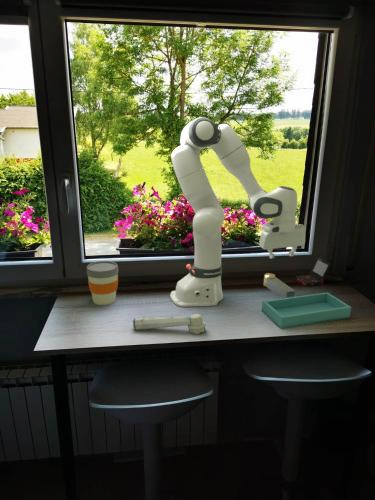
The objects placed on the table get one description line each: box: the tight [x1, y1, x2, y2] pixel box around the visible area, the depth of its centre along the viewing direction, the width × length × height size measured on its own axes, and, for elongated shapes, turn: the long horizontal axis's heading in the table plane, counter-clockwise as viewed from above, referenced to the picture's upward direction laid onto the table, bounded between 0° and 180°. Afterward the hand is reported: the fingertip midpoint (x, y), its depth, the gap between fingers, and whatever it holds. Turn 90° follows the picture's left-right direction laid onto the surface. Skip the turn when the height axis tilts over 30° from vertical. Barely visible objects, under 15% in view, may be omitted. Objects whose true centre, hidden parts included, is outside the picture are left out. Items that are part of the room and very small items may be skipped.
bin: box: [261, 291, 352, 330], centre depth 141 cm, size 30×14×4 cm, turn 108°
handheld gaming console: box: [295, 257, 332, 287], centre depth 173 cm, size 9×12×10 cm
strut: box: [263, 272, 296, 299], centre depth 161 cm, size 20×5×5 cm, turn 18°
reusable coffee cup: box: [86, 260, 120, 306], centre depth 149 cm, size 13×13×15 cm
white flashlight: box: [132, 313, 207, 335], centre depth 129 cm, size 5×7×25 cm
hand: (281, 257), depth 157 cm, fingers open, 8 cm apart
